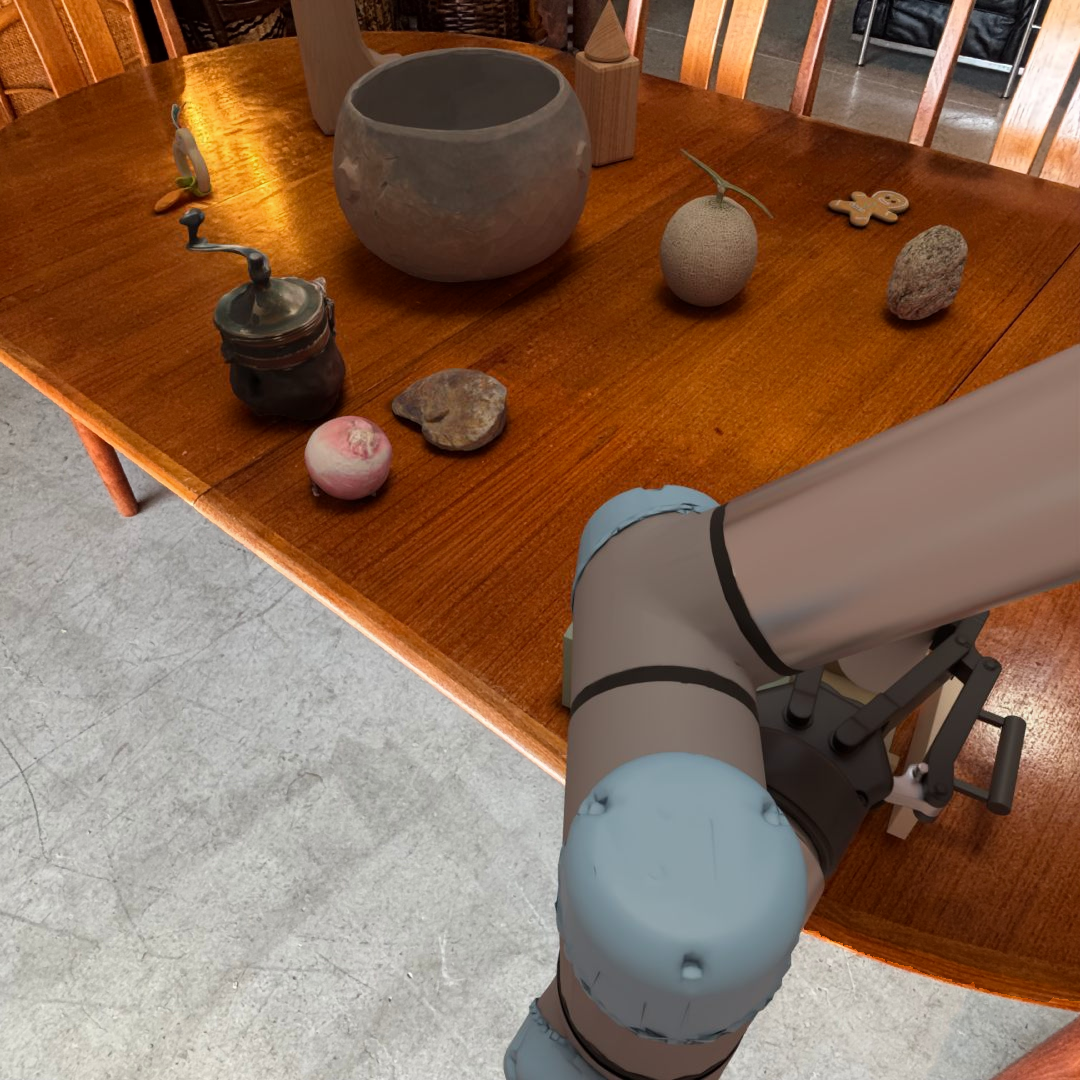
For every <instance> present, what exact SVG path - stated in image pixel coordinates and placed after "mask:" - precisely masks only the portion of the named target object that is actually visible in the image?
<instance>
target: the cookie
mask: <svg viewBox="0 0 1080 1080" xmlns="http://www.w3.org/2000/svg"><path fill="white" fill-rule="evenodd" d="M850 199H851V200H852V201H851V200H850V201H849V200H842V199H835V200H831V201H830V202H829V203H828V208H829V209H830V210H832V211H833V212H836V213H842V214H846V215H849V222H850V224H851V225H853V226H855V227H859V228H861V227H866V226H867V225H868V223H869V222H870V218H871V217H872V218H873V217H874V218H875V219H878V220H880V221H882V222H885V223H887V224H888V223H889V224H891V223H896V222H897V221H898V218H899V217H898V215H897V214H901V213H903V212H906V210H907V209H909V205H910V204H909V200H908V198H906V197H905V196H904V195H902V194H900V193H898V192H895V191H893V190H892V191H891V190H879V191H876V192H875V193H873V194H872V195H871V196H870V197H869V196H867V195H866V193H865V192H862V191H853V192H851V194H850Z"/></svg>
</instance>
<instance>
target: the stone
mask: <svg viewBox="0 0 1080 1080" xmlns="http://www.w3.org/2000/svg"><path fill="white" fill-rule="evenodd" d="M967 256H968V244H967V242H966V239H965V238H964V237H963V235H962V233H961V232H960V231H958V230H957V229H955V228H954V227H951V226H949V225H941V224H938V225H935V226H932V227H931V228H928V229H926V230H925V231H922V232H921V233H919V234H918V235H917V236H915V237H914V238H912V239H911V240H909V241H908V242H907V243H906V244H905V245H904V246H903V248H902V250H901V251H900V252H899V254H898V255H897V257H896V259H895V262H894V264H893V268H892V272H891V274H890V277H889V279H888V282H887V288H886V292H885V293H886V294H885V296H886V297H885V298H886V304H887V306H888V309H889V310H890V312H891V313H892V314H894V315H895V316H897V318H898V319H901V320H906V321H918V320H923V319H925V318H927V317H930V316H931V315H932V314H936V313H938V311H940V310H941V309H946V308H947V307H949V306H951V304H952V303H953V302H954V300H955V299H957V295H958V292H959V289H960V288H961V287H962V281H963V280H962V279H963V273H964V269H965V265H966V260H967Z"/></svg>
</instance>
